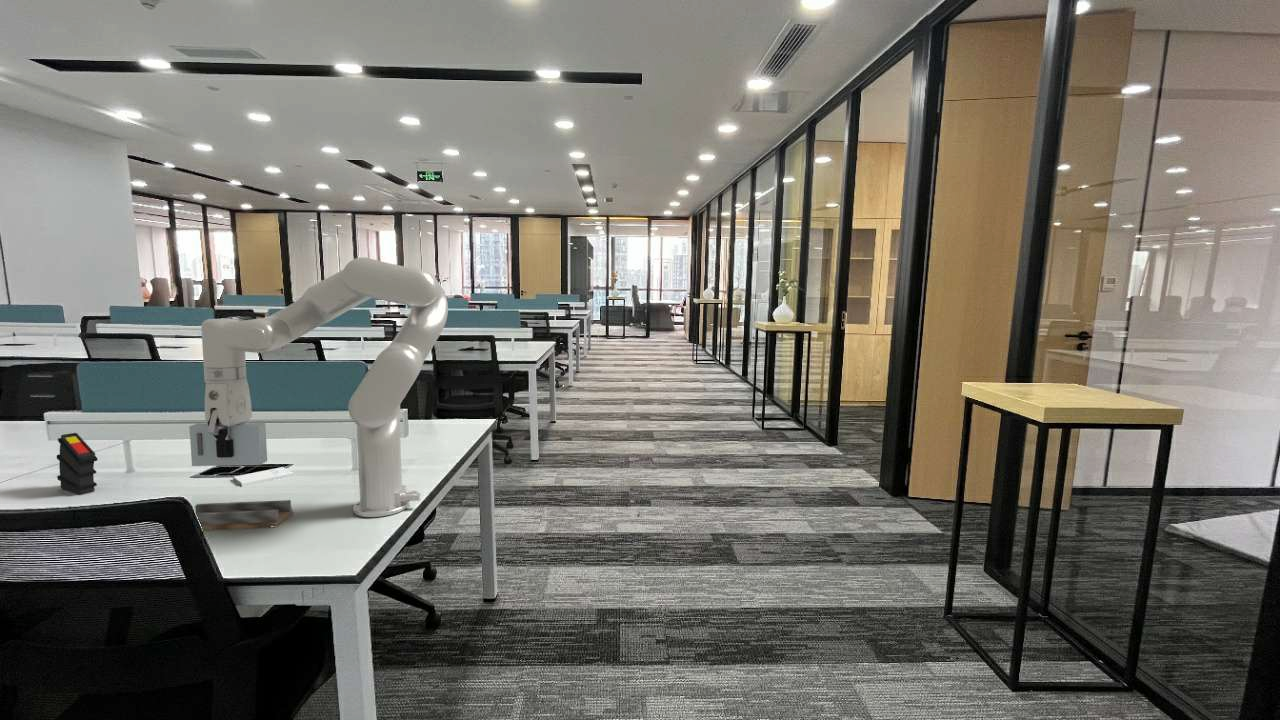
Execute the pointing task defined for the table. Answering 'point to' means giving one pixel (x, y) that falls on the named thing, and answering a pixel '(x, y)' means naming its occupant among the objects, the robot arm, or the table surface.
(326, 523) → the table surface
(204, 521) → the track base
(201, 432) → the door panel
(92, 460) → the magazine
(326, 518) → the table surface
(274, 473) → the external hard drive
